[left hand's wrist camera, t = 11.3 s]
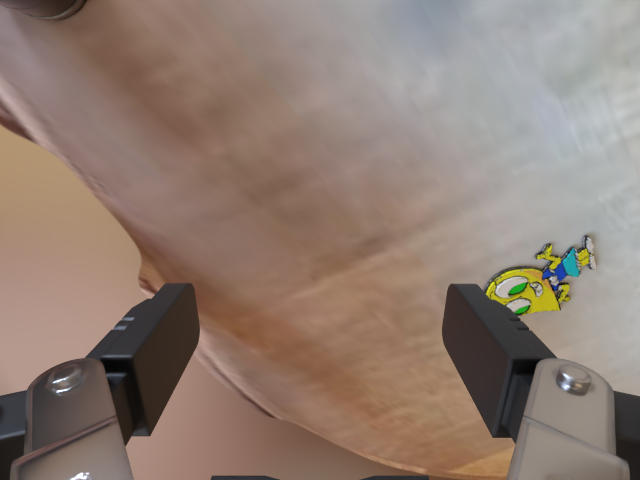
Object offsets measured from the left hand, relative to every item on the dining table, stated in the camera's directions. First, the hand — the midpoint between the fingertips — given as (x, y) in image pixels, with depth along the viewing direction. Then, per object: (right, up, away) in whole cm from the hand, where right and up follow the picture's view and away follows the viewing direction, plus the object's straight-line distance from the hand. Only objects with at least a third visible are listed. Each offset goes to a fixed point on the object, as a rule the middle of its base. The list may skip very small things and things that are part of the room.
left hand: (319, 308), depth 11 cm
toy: (+27, -4, +34) cm, 44 cm away
